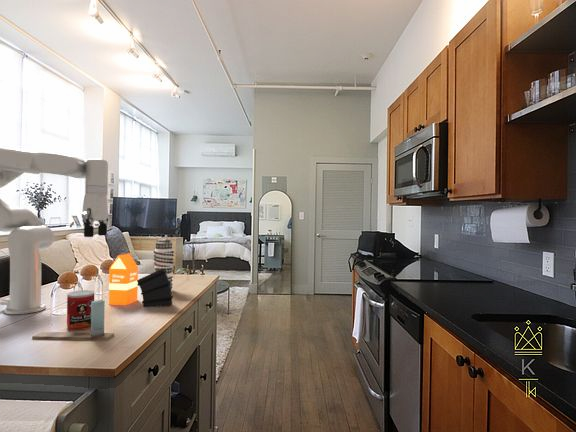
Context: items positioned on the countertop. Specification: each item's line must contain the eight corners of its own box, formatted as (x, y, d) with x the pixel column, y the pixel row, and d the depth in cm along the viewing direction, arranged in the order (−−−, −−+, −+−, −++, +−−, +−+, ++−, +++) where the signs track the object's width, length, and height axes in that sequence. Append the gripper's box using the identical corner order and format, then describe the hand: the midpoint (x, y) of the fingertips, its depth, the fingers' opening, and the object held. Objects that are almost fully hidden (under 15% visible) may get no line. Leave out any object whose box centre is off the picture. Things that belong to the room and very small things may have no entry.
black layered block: (179, 302, 145) (163, 268, 143) (148, 317, 143) (131, 283, 141) (180, 299, 148) (164, 267, 147) (149, 314, 146) (133, 281, 145)
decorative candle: (169, 293, 167) (170, 240, 167) (149, 293, 167) (150, 239, 167) (175, 289, 176) (176, 238, 176) (157, 289, 176) (158, 238, 176)
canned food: (67, 331, 112) (68, 296, 112) (66, 324, 118) (66, 291, 118) (95, 327, 116) (95, 294, 116) (92, 321, 123) (92, 289, 122)
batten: (32, 339, 105) (32, 336, 105) (41, 334, 109) (41, 331, 109) (107, 340, 105) (107, 337, 105) (114, 335, 109) (114, 333, 109)
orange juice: (137, 300, 154) (138, 253, 154) (126, 305, 145) (127, 255, 145) (120, 299, 155) (121, 253, 154) (108, 304, 146) (109, 255, 146)
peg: (88, 337, 105) (88, 303, 105) (94, 333, 109) (95, 300, 109) (100, 337, 105) (100, 303, 105) (106, 333, 109) (106, 300, 109)
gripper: (98, 192, 145) (98, 234, 145) (73, 189, 128) (72, 237, 128) (117, 192, 145) (116, 235, 145) (94, 189, 128) (93, 237, 128)
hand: (95, 236), depth 137 cm, fingers open, 9 cm apart
